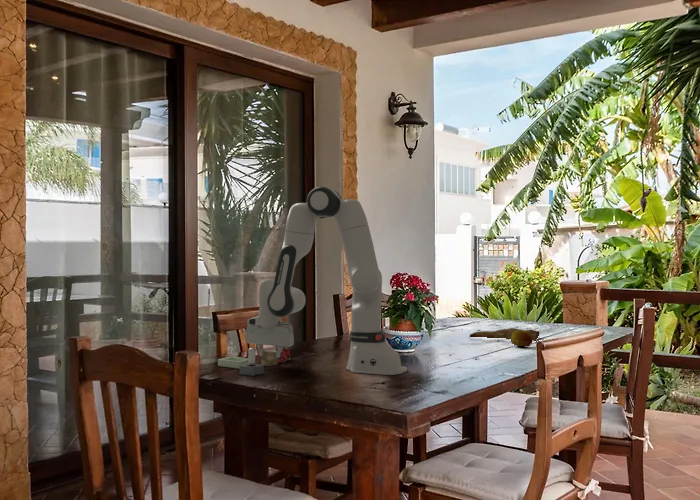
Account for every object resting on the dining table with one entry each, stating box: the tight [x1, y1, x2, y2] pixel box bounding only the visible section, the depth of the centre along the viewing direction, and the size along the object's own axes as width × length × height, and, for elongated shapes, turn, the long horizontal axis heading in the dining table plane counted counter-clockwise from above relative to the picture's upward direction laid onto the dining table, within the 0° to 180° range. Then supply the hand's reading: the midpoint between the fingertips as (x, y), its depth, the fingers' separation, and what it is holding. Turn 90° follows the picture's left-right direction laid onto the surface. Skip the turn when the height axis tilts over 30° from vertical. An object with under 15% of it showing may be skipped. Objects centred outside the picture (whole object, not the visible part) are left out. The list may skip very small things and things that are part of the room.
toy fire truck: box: [278, 335, 295, 364], centre depth 278 cm, size 3×14×10 cm, turn 168°
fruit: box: [510, 329, 533, 347], centre depth 322 cm, size 10×9×8 cm
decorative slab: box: [469, 327, 540, 341], centre depth 352 cm, size 32×22×5 cm
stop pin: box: [247, 347, 256, 366], centre depth 248 cm, size 2×2×9 cm
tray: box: [217, 356, 248, 370], centre depth 264 cm, size 10×8×2 cm
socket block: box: [239, 363, 265, 377], centre depth 248 cm, size 6×6×3 cm
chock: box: [260, 349, 279, 367], centre depth 268 cm, size 4×5×5 cm
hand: (269, 356), depth 268 cm, fingers open, 5 cm apart
